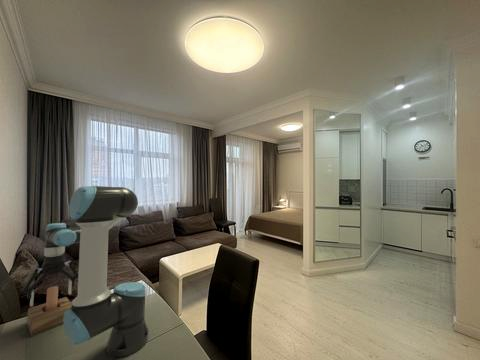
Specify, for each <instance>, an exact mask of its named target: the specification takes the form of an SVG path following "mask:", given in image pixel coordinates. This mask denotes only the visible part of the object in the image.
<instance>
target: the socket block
mask: <svg viewBox="0 0 480 360" xmlns="http://www.w3.org/2000/svg"><path fill="white" fill-rule="evenodd" d="M71 306H72V301H71V300H69V298H68V297H67V296H64V297H62V298H58V302H57V308H55V309H52V310H49V311H46V302H45V303H42V304H39V305H36V306H31V307H30V308H28V309H27V320H26V321H27V322H26V326H27V325H28V326H27V328H28V331H29V335H30V337H31V338H32V337H34V336H36V335H39V334H41V333H45V332H46V331H49V330H52V329H54V328H57V327H59V326H62V325H64V322H63V316H64V313H65V312H66V311H67V310H68V309H71Z"/></svg>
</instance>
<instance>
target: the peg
mask: <svg viewBox="0 0 480 360" xmlns="http://www.w3.org/2000/svg"><path fill="white" fill-rule="evenodd" d="M58 297H59V285H55V286H50V287H48V288H47V290H46V302H45V303H46V311H49V310H52V309H55V308H57V302H58V299H59V298H58Z"/></svg>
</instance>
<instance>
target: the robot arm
mask: <svg viewBox="0 0 480 360" xmlns="http://www.w3.org/2000/svg"><path fill="white" fill-rule="evenodd" d="M137 196H138V195H136V194H135V192H134V191H133V190H131V189H129V188H127V187H122V186H101V185H89V186H79V187H78V188H76V190H75V191H74V192H73V194H72V196H71V198H70V201H69V206H68V214H69V217H70V219H73V220H75V224H76V225H77V227H72V228H71V227H69V228H67V223H65V222H55V223H49V224H47V225H46V227H45V232H44V234H45V238H44V250H43V256H44V257H43V263H42V265H43V266H42V267H34V268H33V271H32V273H31V275H30V277H29V278H28V280H27V281H26V282H25V284H24V286H23V287H22V289H21V291H22V293H27V294H26V298H27V300H30V301H29V307H34V298H35V290H34V289H35V288H36V287H38V285H39V284H40V283H42V281H43V280H44V279H46V277H47V276H52V275H57V274H59V273H62V274H63V275H64V276H65V277H67V278H68V284H67V287H68V289H67V294H68V295H69V296H70V295H72V288H73V287H74V286H75V280H76V279H77V296H75V298H74V299H73V300H72V301H71V303H72V306H71V309H68V310H67V311H66V312H65V313H64V316H63V322H64V324H63V329H64V331H65V335H66V338H67V339H68V341H69V342H70V344H72V345H74V346H77V345H80V344H82V343H85V342H87V341H90V340H91V339H93V338H95V337H96V336H98V335H100V334H103V333H104V332H106V331H108V330H110V329H111V331H110V334H109V337H108V340H107V343H106V353H107V355H108V356H110V357H111V358H112V357H113V358H123V357H127V356H129V355H132V354H134V353H136V352H138V351H139V350H141V348H143V347H144V346H145V345H146V344H147V342H148V341H149V333H150V332H149V327H148V325H147V322H146V319H145V317H146V316H145V315H146V314H145V313H146V295H147V293H146V285H144V284H143V283H141V282H137V281H136V282H134V281H131V282H130V281H129V282H123V283H120V284H116V286H114V288H113V292H112V291H111V290H110V289H109V290H108V289H107V285H108V284H107V283H108V263H109V261H108V260H109V259H108V257H109V255H108V253H109V232H110V230H111V229H112V228H113V227H115V225H116V224H118V223H119V222H120V221H121V220H123V219H125V218H128V217H131V215H133V213H135V211H136V210H137V208H138V207H139V206H138V205H139V201H138V197H137ZM73 244H79V255H78V257H79V258H78V272H77V270H76V268H75V267H74V266H73V261H71V260H68V261H66V262H65V252H66V247H69V246H71V245H73ZM65 266H66V267H68V268H69V269H70V271H71V273H72V274H73V276H72V275H71V274H70V273H69V272H67V271H66V270H64V268H65ZM41 271H42V274H40V276H38V278H37V279H36V277H37V275H38V274H39V273H40V272H41ZM35 279H36V280H35ZM34 280H35V281H34ZM33 281H34V282H33Z"/></svg>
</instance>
